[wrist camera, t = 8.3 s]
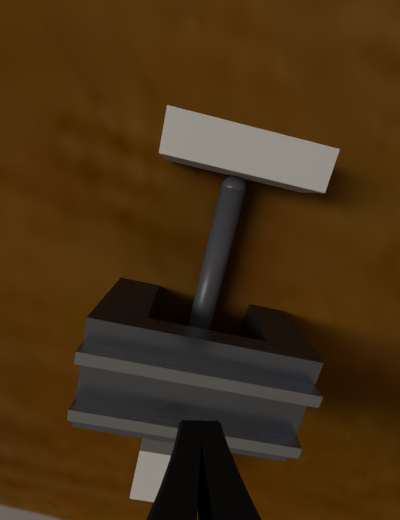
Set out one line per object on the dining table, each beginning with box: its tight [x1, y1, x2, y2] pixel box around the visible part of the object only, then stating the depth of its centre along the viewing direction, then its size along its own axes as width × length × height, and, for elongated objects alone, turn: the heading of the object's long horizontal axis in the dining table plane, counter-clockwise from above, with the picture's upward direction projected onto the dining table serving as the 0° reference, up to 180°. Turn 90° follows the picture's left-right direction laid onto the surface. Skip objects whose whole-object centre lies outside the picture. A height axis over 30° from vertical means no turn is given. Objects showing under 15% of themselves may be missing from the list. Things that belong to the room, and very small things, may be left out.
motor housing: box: [67, 278, 324, 461], centre depth 15 cm, size 11×6×6 cm, turn 77°
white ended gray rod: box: [129, 105, 340, 502], centre depth 16 cm, size 8×24×3 cm, turn 167°
